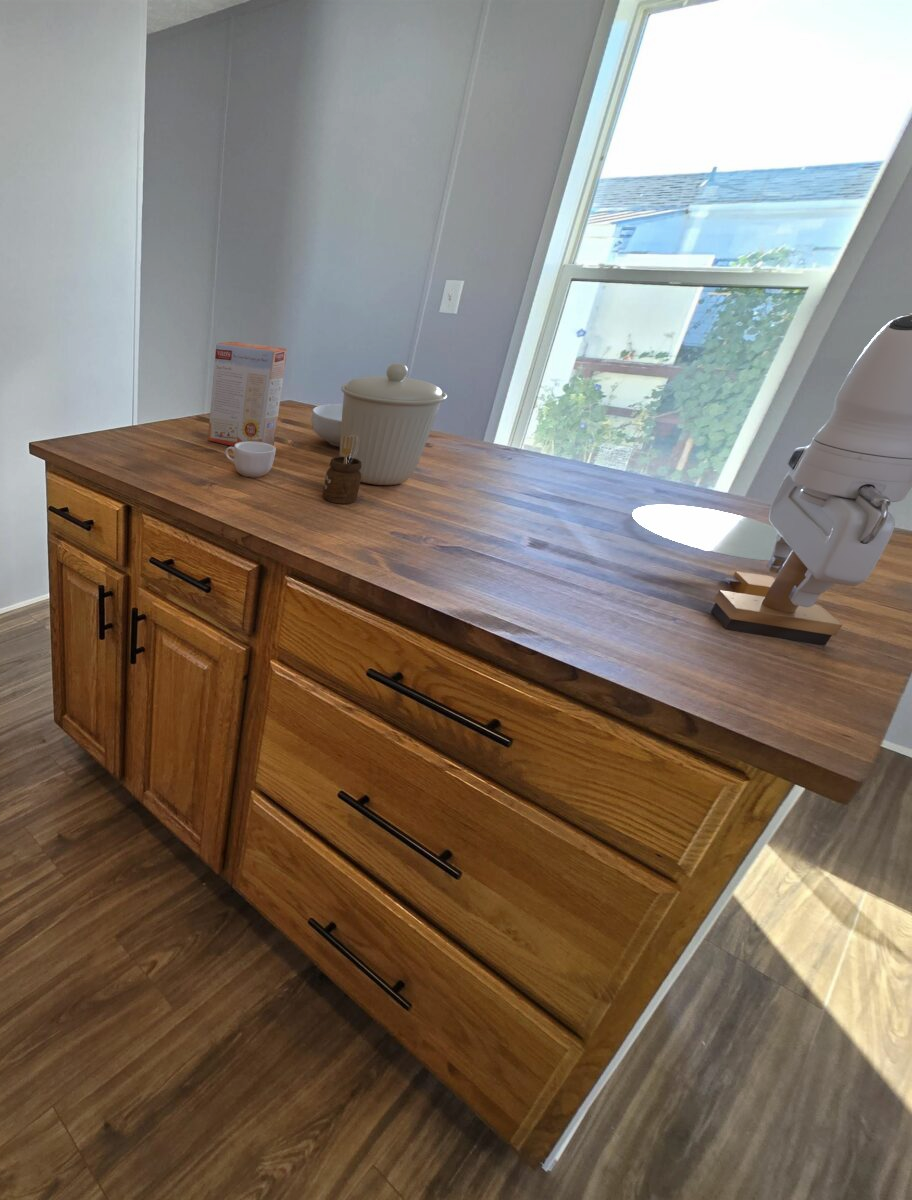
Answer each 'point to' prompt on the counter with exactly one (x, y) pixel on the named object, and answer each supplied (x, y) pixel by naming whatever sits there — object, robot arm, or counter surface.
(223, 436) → the cracker box
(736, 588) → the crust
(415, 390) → the canister
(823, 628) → the brush
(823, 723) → the counter surface
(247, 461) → the teacup
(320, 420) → the cereal bowl
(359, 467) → the utensil holder
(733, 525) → the disc
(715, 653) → the counter surface
